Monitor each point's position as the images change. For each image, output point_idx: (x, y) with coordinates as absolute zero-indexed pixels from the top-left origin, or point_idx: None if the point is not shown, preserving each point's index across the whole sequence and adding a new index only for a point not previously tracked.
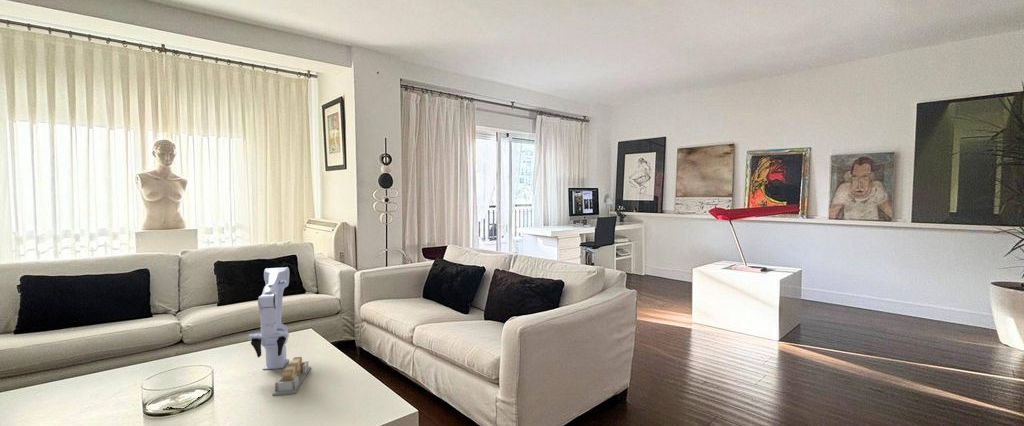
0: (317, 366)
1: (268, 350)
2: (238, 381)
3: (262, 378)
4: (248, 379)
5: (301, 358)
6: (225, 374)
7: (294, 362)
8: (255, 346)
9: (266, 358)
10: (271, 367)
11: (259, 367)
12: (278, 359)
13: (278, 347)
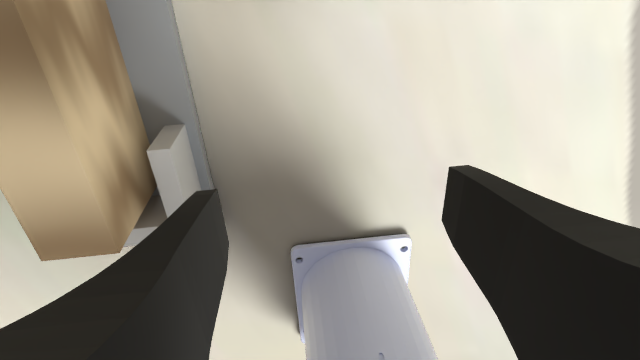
0: (57, 259)
1: (412, 353)
2: (521, 75)
3: (366, 106)
4: (460, 101)
5: (41, 241)
6: (609, 192)
7: (6, 118)
8: (622, 238)
9: (410, 302)
10: (359, 248)
11: (436, 265)
12: (324, 296)
13: (157, 258)
